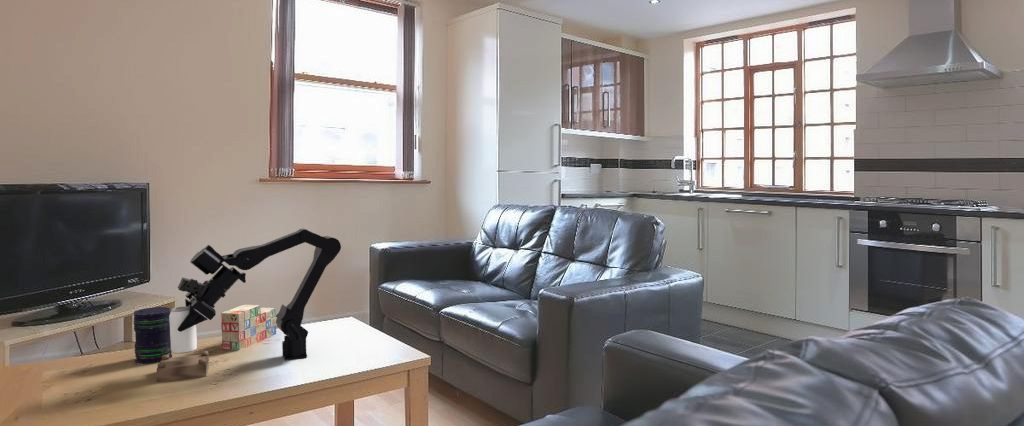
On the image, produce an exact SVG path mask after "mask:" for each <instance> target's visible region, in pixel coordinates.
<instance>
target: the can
mask: <svg viewBox="0 0 1024 426" xmlns="http://www.w3.org/2000/svg"><path fill="white" fill-rule="evenodd" d="M170 311H171V312H170V316H169V319H170V340H171V351H172V354H176V355H177V354H178V355H181V354H189V353H192V352H195V351H196V350H197V348H198V345H197V344H198V341H197V324H196V325H194V326H192V327H190V328H188V329H186V330H184V331H181V332H180V331H178V330H177V329H178V327H179V326H180V325H181V323H182V322H183V320H184V319H185V317H186V316H187V315H188V313H189V306H179V307H178V306H176V307H172V308H170Z"/></svg>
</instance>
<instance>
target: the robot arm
mask: <svg viewBox="0 0 1024 426" xmlns="http://www.w3.org/2000/svg"><path fill="white" fill-rule="evenodd" d="M304 243H305V244H308V245H310V246H314V247H315V248H314V251H313V252H314V253H313V257H312V262H311V263H310V265H309V267H308V269H307V271H306V273H305V275H304V277H303V278H302V280H301V283H300V284H299V287H297V290H296V292H295V294H294V296H293V298H292V299H291V301H290V302H288V304H287V305H284V304H281V306H280V308H279V312H278V313H277V314H275V317H276V328H278V329H279V330H280V331H281V332H282V333H283V335H284V336H283V340H282V343H281V344H282V345H281V346H282V347H281V348H282V350H281V351H282V357H283V358H284V360H295V359H304V358H308V355H307V354H308V353H307V337H308V333H309V331H308V329H306V328H304V327H303V326H302V322H303V320H304V313H305V308H306V305H307V304H308V302H309V300H310V298H311V297H312V294H313V293H314V291H315V289H316V287H317V285H318V283H319V282H320V280H321V277H322V276H323V273H324V271H325V270H326V268H327V266H328V265H330V264H331V263H332V262H333V261H334V260H335V258H336V257H337V256H338V254H340V251H341V249H342V244H341V242H340V240H338V239H337V238H335V237H332V236H329V235H323V236H321V235H320V234H317V233H315V232H312V231H311V230H309V229H306V228H298V230H296V231H293V232H291V233H288V234H286V235H283V236H281V237H278V238H276V239H273V240H271V241H268V242H266V243H262V244H260V245H253V246H247V247H243V248H242V247H241V248H239V249H237V250H235V251H233V253H230V254H224V255H221V254H220V253H219V252H218V251H216V250H215V249H214V248H213V247H212V246H211V245H210V244H207V245H206V246H205V247H203V248H202V249H201V250H200V251H198V252H196V254H194V256H193V257H192V258H191V259H190V262H189V263H190V264H192V265H193V266H194V267H196V268H197V269H198V270H199V271H201V272H202V273H203V274H205V276H207V275H209V274H210V275H213V276H212V277H211V278H210V279H208V280H204V281H203V283H202V282H200V281H199V282H198V280H197V279H193V278H187V277H181V279H180V282H179V284H178V286H177V289H178V291H181V292H185V293H186V292H187V293H186V294H185V295H184V297H185V298H184V304H185V306H189V313H188V315H187V316H186V317H185V319H184V320H183V322H182V323H181V325H180V326H179V327H178V329H177V330H178V331H180V332H181V331H184V330H186V329H188V328H190V327H192V326H194V325H196V326H197V325H199V324H200V323H203V322H205V321H208V320H210V321H211V320H212V319H214V317H215V316H216V313H217V312H216V309H215V307H216V306H215V305H216V303H218V302H219V300H220V299H221V298H224V297H226V293H227V292H228V291H229V290H230V289H231V288H232V287H233V286H234V285H235V283H237V282H238V281H241V282H242V283H243V284H245V283H246V281H247V280H246V276H247V275H246V274H247V273H246V272H240V271H239V270H242V271H248V270H251V269H253V268H255V267H256V266H258V265H259V264H261V263H262V262H264V260H266V259H268V258H269V257H271V256H274V255H277V254H279V253H282V252H284V251H286V250H289V249H292V248H295V247H297V246H299V245H301V244H304ZM224 263H225V264H226V265H228V266H231V267H230V268H228V266H226V265H225V264H224ZM235 267H236V268H237V269H236V268H235ZM238 269H239V270H238ZM185 306H184V307H185Z"/></svg>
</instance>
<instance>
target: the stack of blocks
mask: <svg viewBox="0 0 1024 426" xmlns="http://www.w3.org/2000/svg"><path fill="white" fill-rule="evenodd" d="M220 315H221V316H220V317H221V318H220V319H221V322H220V323H221V325H220V326H221V348H222V349H226V350H225V351H236V350H240V351H242V350H244V349H246V347H247V348H249V347H251V346H253V345H255V344H254V343H256V342H257V343H259V342H261V341H264V340H265V339H268V338H270V337H272V336H274V335H276V334H277V324H276V319H277V317H276V308H275V307H261V304H243V305H242V304H241V305H239V306H236V307H234V308H232V309H228V310H225V311H223V312H221V314H220ZM257 343H256V344H257ZM252 344H253V345H252ZM250 345H251V346H250ZM248 346H249V347H248ZM222 349H221V350H222ZM241 349H242V350H241Z"/></svg>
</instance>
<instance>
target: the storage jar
mask: <svg viewBox="0 0 1024 426" xmlns="http://www.w3.org/2000/svg"><path fill="white" fill-rule="evenodd" d="M170 313H171V308H170V307H167V306H166V307H164V306H160V307H158V306H156V307H147V308H141V309H140V308H139V309H138V310H135V311H134V312H133V330H134V332H135V333H134V334H135V335H134V336H135V343H134V356H135V363H136V365H137V364H139V365H153V364H159V363H160V362H161V360H162V356H163V355H169V358H173V355H172V354H173V352H172V351H171V340H170V319H169V316H170Z"/></svg>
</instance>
